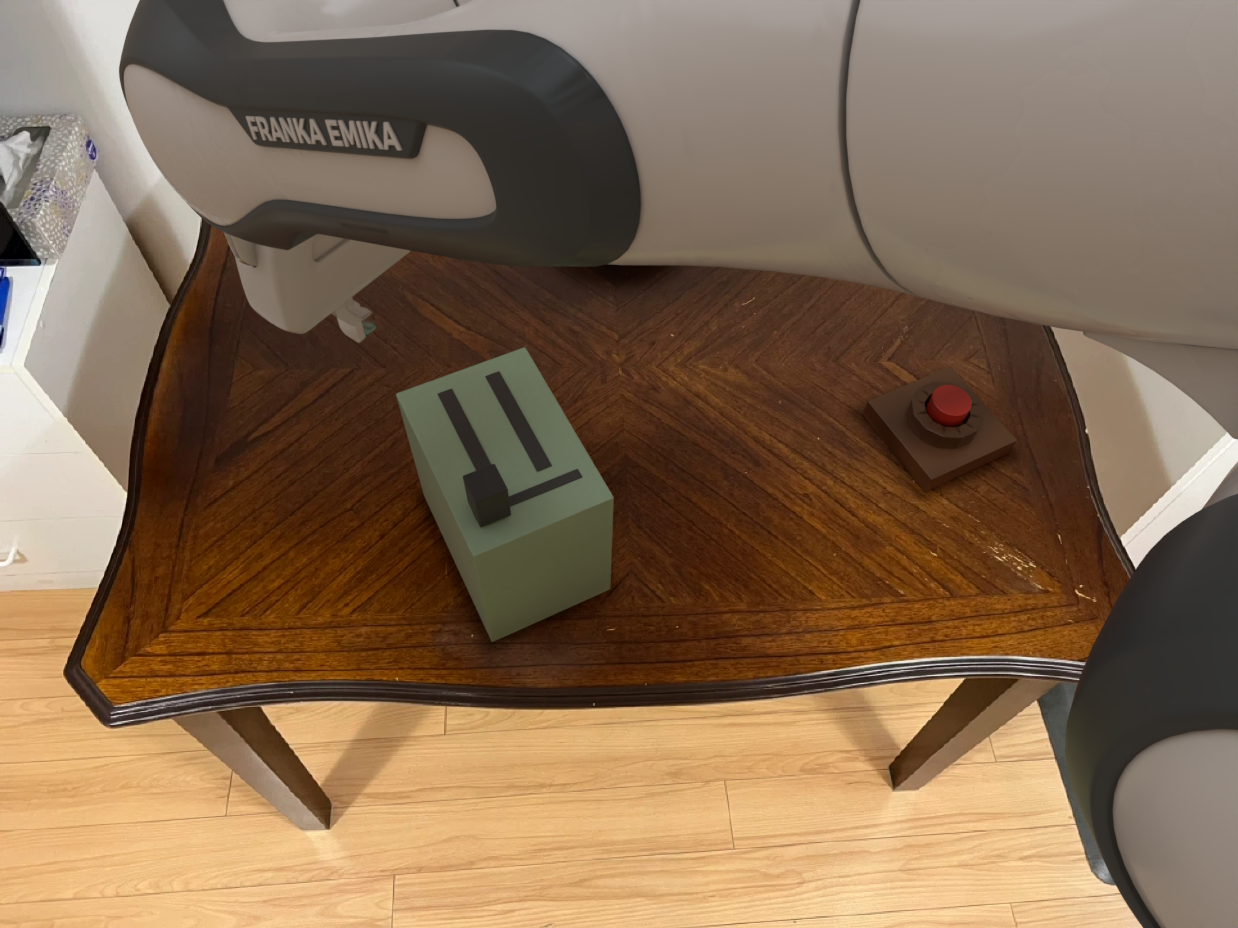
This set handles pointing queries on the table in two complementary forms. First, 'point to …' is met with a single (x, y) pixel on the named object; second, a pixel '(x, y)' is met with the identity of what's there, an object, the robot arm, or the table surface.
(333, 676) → the table surface
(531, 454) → the toaster
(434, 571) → the table surface
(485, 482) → the toaster slider
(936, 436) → the control block
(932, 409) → the button
